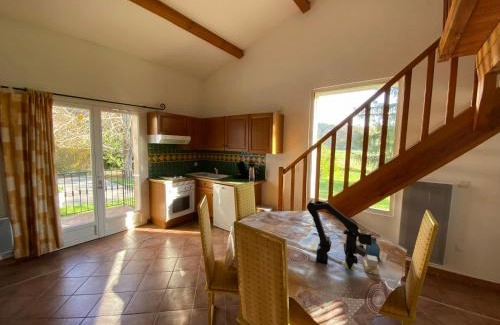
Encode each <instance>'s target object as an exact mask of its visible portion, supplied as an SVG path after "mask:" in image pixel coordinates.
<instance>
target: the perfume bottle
mask: <svg viewBox="0 0 500 325" xmlns="http://www.w3.org/2000/svg"><path fill="white" fill-rule="evenodd" d="M371 241H372V244H371V246H369V245H365V249H366V251H367V254H366V256H367V255H371V256H376V257H377V259H379V258H380V252H381V248H380V246H379V244H378V243H377V241H378V240H377V237H375V236H371Z"/></svg>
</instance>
